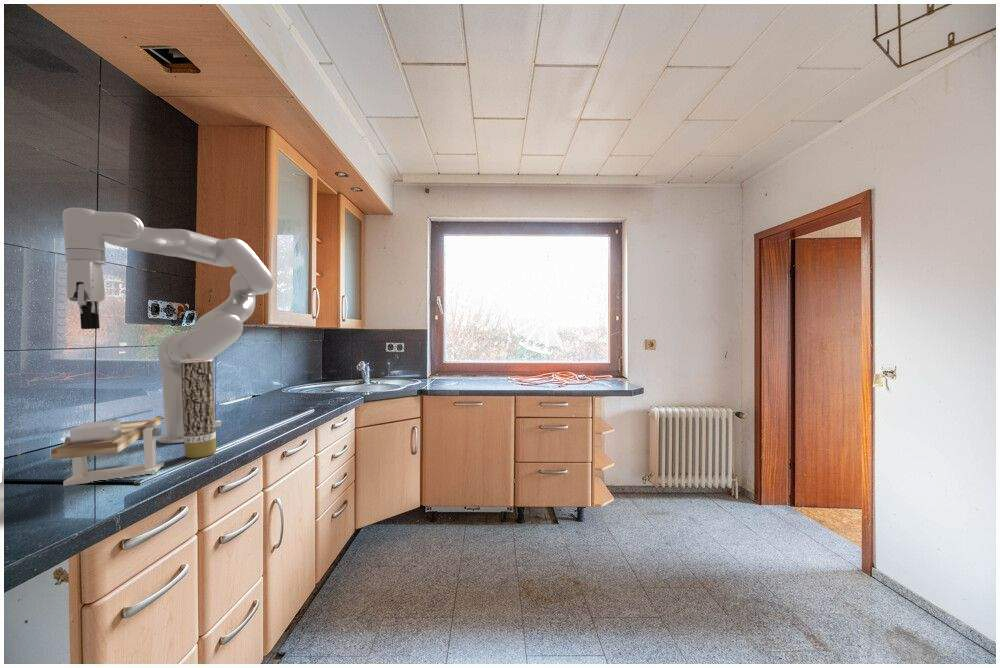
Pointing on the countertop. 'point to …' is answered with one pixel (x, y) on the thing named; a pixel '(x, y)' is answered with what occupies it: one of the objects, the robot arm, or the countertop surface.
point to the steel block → (96, 432)
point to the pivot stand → (150, 466)
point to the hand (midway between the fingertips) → (90, 328)
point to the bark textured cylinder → (198, 407)
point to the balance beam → (128, 436)
